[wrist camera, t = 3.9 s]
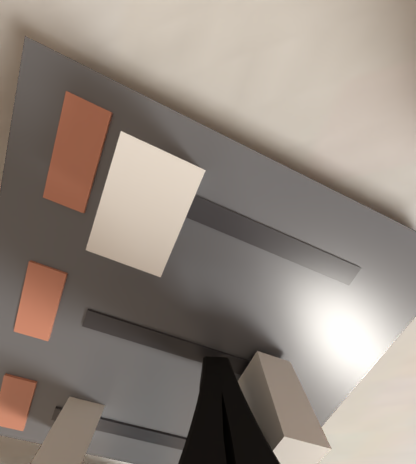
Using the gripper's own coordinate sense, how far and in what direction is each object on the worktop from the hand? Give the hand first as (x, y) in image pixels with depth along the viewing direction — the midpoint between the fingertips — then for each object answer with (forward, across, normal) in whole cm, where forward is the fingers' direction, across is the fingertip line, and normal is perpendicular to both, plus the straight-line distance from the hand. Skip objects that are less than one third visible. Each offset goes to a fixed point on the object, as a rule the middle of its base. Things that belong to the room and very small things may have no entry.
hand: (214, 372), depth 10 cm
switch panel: (+3, +1, 0) cm, 3 cm away
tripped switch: (+1, -3, +1) cm, 3 cm away
